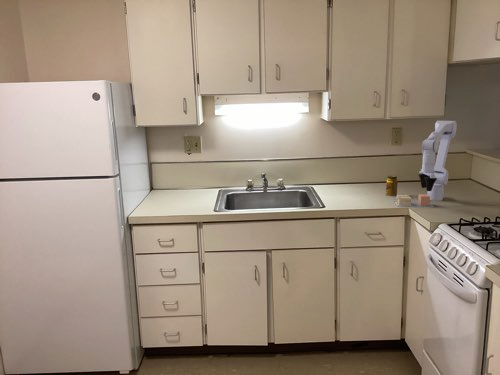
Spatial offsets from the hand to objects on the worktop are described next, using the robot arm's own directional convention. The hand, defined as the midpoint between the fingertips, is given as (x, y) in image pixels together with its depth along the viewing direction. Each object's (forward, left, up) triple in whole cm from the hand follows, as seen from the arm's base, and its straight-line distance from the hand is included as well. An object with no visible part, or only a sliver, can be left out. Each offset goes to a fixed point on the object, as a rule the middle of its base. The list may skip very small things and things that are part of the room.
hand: (426, 189), depth 217 cm
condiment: (-23, -12, -10) cm, 27 cm away
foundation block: (-2, -11, -8) cm, 14 cm away
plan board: (-2, -6, -9) cm, 11 cm away
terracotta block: (-1, -1, -8) cm, 8 cm away
